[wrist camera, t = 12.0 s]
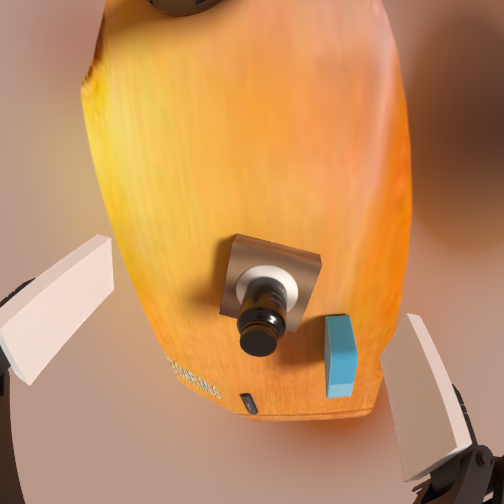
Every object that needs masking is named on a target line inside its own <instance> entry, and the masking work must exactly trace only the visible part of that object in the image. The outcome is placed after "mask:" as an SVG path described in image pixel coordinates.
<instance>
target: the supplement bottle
mask: <svg viewBox="0 0 504 504" xmlns="http://www.w3.org/2000/svg"><path fill="white" fill-rule="evenodd" d="M286 318H287V291H286V288H285V287H284V285H283V284H282V283H281V282H280V281H278V280H277V279H274V278H271V277H259V278H256V279H254V280H253V281H251V282H250V283H249V284H248V286H247V288H246V290H245V293H244V297H243V300H242V304H241V307H240V311H239V315H238V318H237V329H238V331H239V333H240V346H241V348H242V349H243V350H244V351H245V352H246V353H247V354H250V355H252V356H256V357H265V356H268V355H270V354H271V353H273V352H274V351H275V349H276V347H277V342H278V340H279V339H280V338H281V337H282V336H283V335H284V333H285V330H286Z"/></svg>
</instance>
